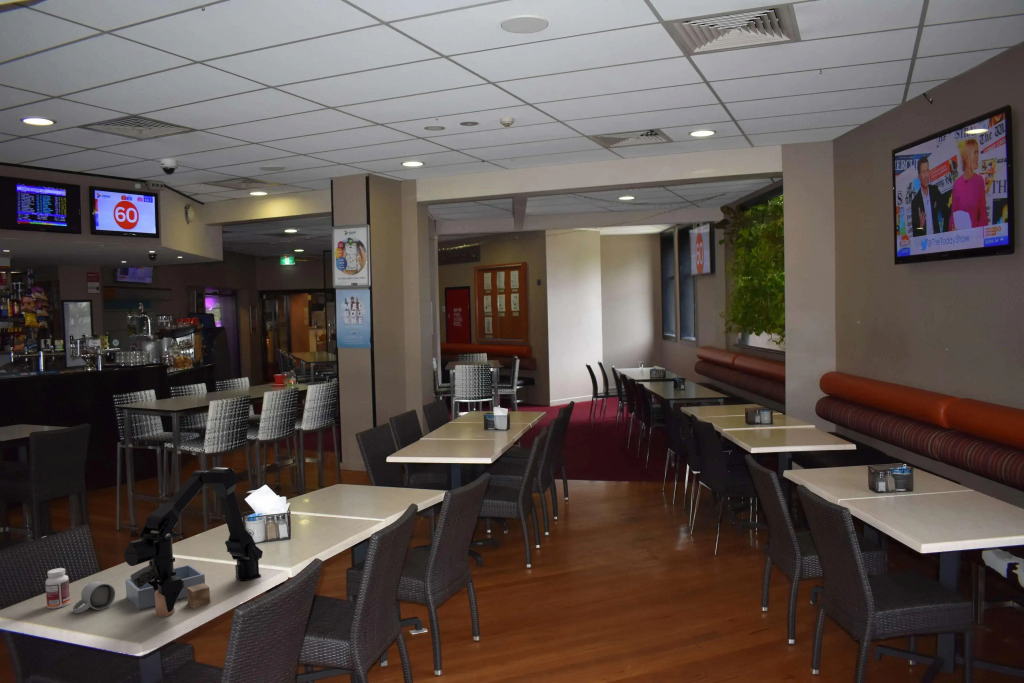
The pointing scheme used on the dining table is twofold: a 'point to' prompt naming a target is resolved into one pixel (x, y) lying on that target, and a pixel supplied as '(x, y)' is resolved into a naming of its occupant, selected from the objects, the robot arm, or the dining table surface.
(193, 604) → the walnut cube
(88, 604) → the ceramic mug
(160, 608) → the terracotta cylinder
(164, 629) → the dining table surface
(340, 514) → the dining table surface
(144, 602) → the tote
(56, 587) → the pill bottle
